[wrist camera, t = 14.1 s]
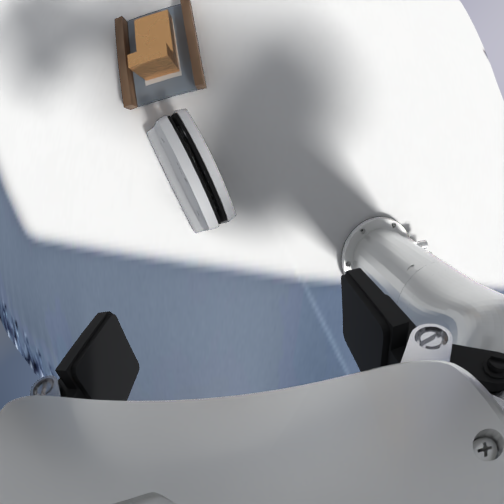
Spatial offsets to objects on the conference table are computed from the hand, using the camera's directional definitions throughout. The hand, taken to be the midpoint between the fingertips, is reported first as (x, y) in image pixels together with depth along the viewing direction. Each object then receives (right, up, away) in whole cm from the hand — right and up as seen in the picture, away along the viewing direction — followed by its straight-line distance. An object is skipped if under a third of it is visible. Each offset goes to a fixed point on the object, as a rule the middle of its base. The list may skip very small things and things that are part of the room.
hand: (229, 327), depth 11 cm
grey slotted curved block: (-7, +14, +27) cm, 32 cm away
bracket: (-12, +32, +20) cm, 40 cm away
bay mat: (-12, +32, +21) cm, 40 cm away
